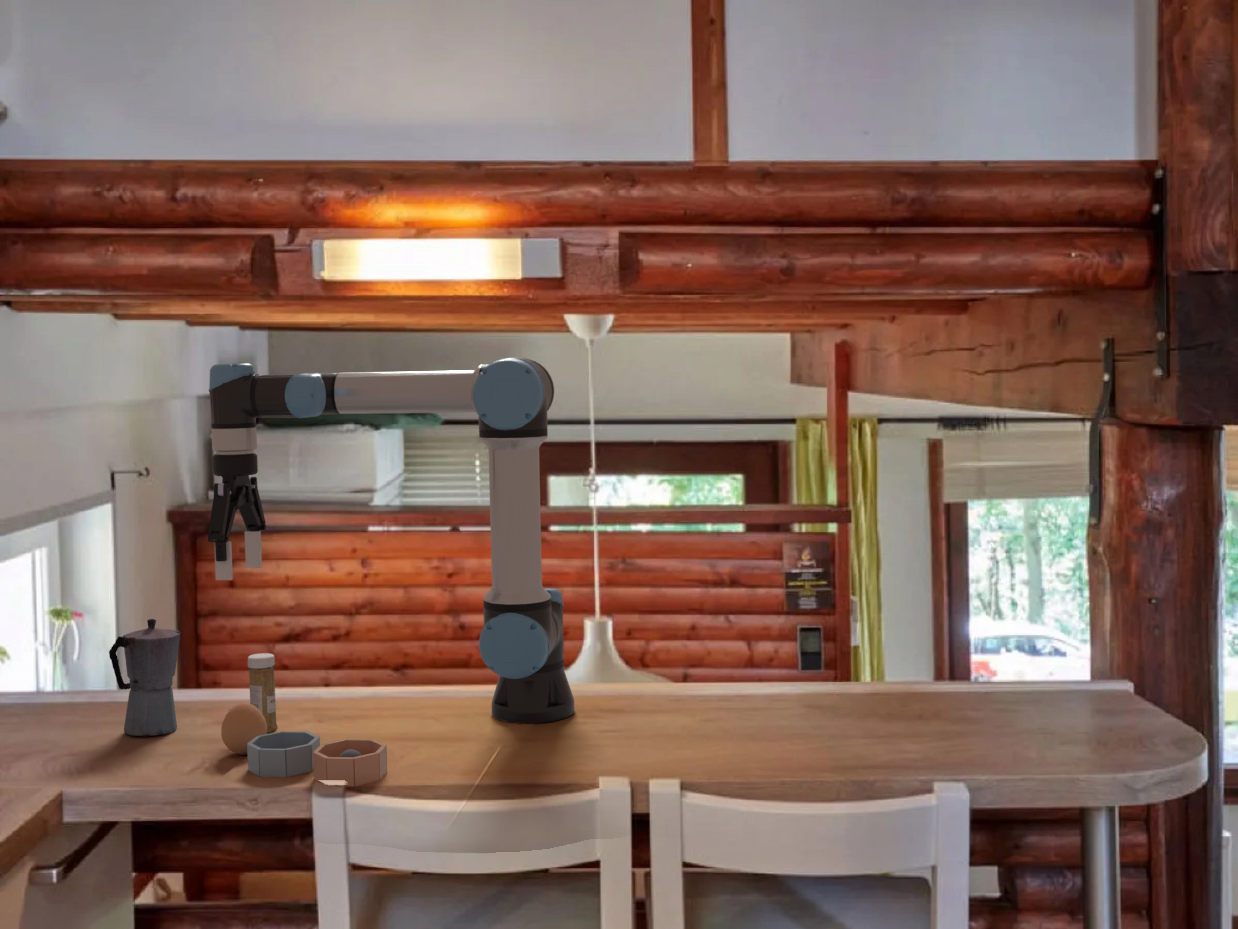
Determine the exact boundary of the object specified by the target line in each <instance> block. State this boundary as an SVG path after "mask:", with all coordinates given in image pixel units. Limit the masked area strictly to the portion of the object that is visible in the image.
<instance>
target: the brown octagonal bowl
mask: <svg viewBox="0 0 1238 929" xmlns="http://www.w3.org/2000/svg"><path fill="white" fill-rule="evenodd" d="M349 749H353V750H356V751H358V752H360V753H361V755H362V756H357V757H339V756H340V754H341V753H342V752H344V751H346V750H349ZM387 750H388V746H387V744H386V743H383V742H381V741H379V740H377V739H374V738H345V739H339V740H336V741H331V742H330V741H329V742H326V743H322V744H321V743H320V746H319V747H318V748H317V749H316V750H315V751H314V752H313V764H314V770H313V780H314V781H317V782H318V780H345V781H347V782H348V786H347V787H359V786H362V785H366V784H370V783H374V782H375V783H376V782H378V781H381V780H382V779H383V777H385V775H386V774H387V773H388V751H387Z"/></svg>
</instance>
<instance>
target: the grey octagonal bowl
mask: <svg viewBox="0 0 1238 929" xmlns="http://www.w3.org/2000/svg"><path fill="white" fill-rule="evenodd" d="M320 745H321V736H319V735H318V734H317V735H316V734H315V733H313V732H310V731H306V730H305V731H304V730H303V731H302V730H282V731H275V732H269V733H267V734H265V735H260V736H256V737H255V738H254V739H253V740H251V741H250V742H249V743H247V753H248V754H247V770H248V772H251V773H252V774H254V775H256V776H258V777H259V778H260V777H261V778H270V777H271V778H286V777H287V778H289V777H292V776H297V775H298V776H299V775H302V774H306V773H310V772H314V764H313V752H314V751H315V750H316V749H317V748H318V747H319V746H320Z"/></svg>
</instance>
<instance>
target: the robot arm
mask: <svg viewBox="0 0 1238 929" xmlns="http://www.w3.org/2000/svg"><path fill="white" fill-rule="evenodd" d="M208 388H209V389H208V393H209V404H210V419H211V420H210V421H211V422H210V424H211V426H210V428H211V433H210V434H209V438H210V439H211V444H212V445H211V449H212V451H213V452H215V454H213V456H212V457H211V458H212V474H213V475H214V476H215V477H222V481H221V482H219V483H218V482H217V483H214V484H213V499H212V500H213V501H212V507H211V511H210V512H211V513H210V520H209V525H208V531H207V541H208V543H213V545H214V547H213V550H214V567H215V568H214V570H215V571H214V572H215V581H233V579H234V577H233V575H234V574H233V553H232V552H233V549H232V546H233V545H232V541H229V540H230V537H231V532H232V528H233V524H234V521H235V517H236V514H237V511H239V513H240V516H241V518H242V521H243V523H244V525H245V528H246V530H247V531H244V549H245V550H244V552H245V555H244V556H245V568H247V569H248V568H250V569H251V568H262V567H263V562H262V560H263V559H262V558H263V557H262V554H263V553H262V533H261V532H262V531H266V529H267V525H266V519H265V514H264V510H263V505H262V501H261V497H260V492H259V489H258V487H259V486H258V477H256V476H255V475H257V473H258V472H259V468H258V467H259V466H258V454H257V453H255V451H256V450H257V449H258V436H257V418H258V419H264V418H292V419H293V418H298V419H305V418H307V419H308V418H316V417H319V416H320V415H339V414H343V415H345V414H346V415H350V414H351V415H354V414H355V415H356V414H367V415H368V414H433V413H434V414H441V413H442V414H443V413H444V414H450V413H452V414H453V413H454V414H455V413H456V414H457V413H459V414H461V413H463V414H464V413H475V414H477V416H478V432H479V433H478V434H479V435H478V436H479V437H478V438H479V440H480V441H481V442H482V444H484V445H485V446H486V448H488V476H489V477H488V478H489V479H488V480H489V481H488V482H489V484H488V486H489V521H490V528H489V529H490V549H491V550H490V558H491V559H490V560H491V561H490V562H491V563H490V566H491V588H490V590H489V591H488V592H486V593H485V595H484V596H483V600H482V602H483V627H482V629H481V631H480V633H479V639H478V649H479V653H480V657H481V659H482V661H483V662H484V664H485V666H487V668H488V669H489V670H490V671H492V672H493V673H494V674H496V675H498V679H497V683H496V686H495V690H494V693H493V696H492V699H491V716H492V717H494V718H495V719H497V720H498V721H504V722H507V723H508V722H509V723H514V724H515V723H517V724H539V723H548V722H549V723H550V722H555V721H559V720H562V719H563V720H564V719H567V718H568V717H570V716H572V715H573V714H574V713H575V698H574V695H573V691H572V688H571V687H570V683H569V681H568V680H569V679H568V677H567V675H566V671H565V652H564V650H565V648H564V606H565V604H564V602H563V593H562V592H561V591H560V589H557V588H548V587H545V588H544V586H543V573H542V572H543V569H542V568H543V567H542V565H543V562H542V529H541V528H542V527H541V526H542V525H541V524H542V523H541V519H542V518H541V485H540V479H541V478H540V472H541V471H540V447H541V445H542V444H543V443H544V442H545V441H546V440H547V439H548V411H549V410H550V408H551V407H552V404H553V402H554V398H555V397H554V396H555V385H554V381H553V379H552V376H551V374H550V373H549V372H548V370H547V369H546V368H545V367H544V366H543V364H541V363H539V362H537V361H536V360H533V359H531V358H530V359H529V358H525V357H524V358H523V357H504V358H499V359H496V360H495V361H493V362H491V363H489V364H487V363H486V364H480V365H478V367H476V368H475V369H473V370H472V369H468V370H463V369H462V370H420V371H419V370H414V371H413V370H411V371H363V372H362V371H359V372H355V371H354V372H353V371H352V372H317V371H316V372H308V373H306V372H303V373H301V372H299V373H278V374H277V373H276V374H275V373H274V374H258V373H256V371H255V367H254V365H253V364H251V363H216V364H213V365H211V367H210V369H209V387H208Z"/></svg>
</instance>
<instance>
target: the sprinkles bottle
mask: <svg viewBox="0 0 1238 929" xmlns="http://www.w3.org/2000/svg"><path fill="white" fill-rule="evenodd" d="M275 661H276V659H275V655H274V654H272V653H267V652H262V653H261V652H260V653H254V654H251V655H249V656H247V668H248V670H249V675H248V676H249V684H248V685H249V704H252V705H254V706H255V707H257V708H258V709H259V710H260V711H261V713H262V714H263V716H264V718H265V720H266V723H267V734H269V733H272V732H273V731H275V730H277V729H278V725H277V712H276V711H277V704H276V702H277V701H276V684H275V664H276V662H275Z"/></svg>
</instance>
